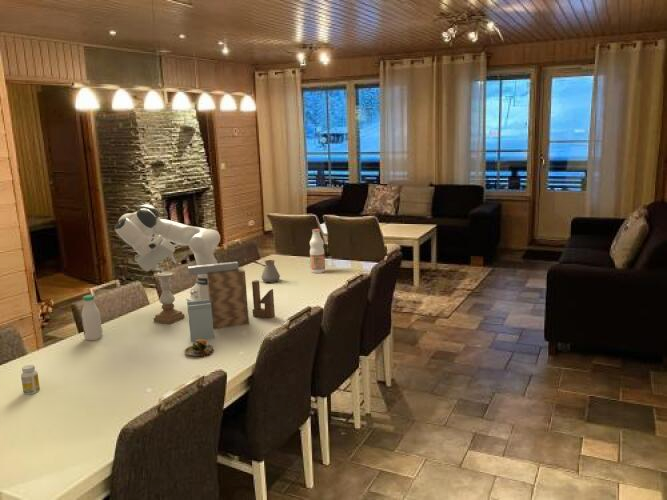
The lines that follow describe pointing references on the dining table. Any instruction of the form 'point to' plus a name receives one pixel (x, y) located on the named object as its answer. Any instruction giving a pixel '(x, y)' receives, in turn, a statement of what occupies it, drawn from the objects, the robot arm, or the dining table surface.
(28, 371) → the supplement bottle
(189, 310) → the block
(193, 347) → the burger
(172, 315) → the candle holder
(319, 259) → the fruit juice
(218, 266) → the bar
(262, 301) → the wooden block
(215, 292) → the brown tall rectangular box
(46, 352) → the dining table surface
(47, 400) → the dining table surface
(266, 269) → the coffee pot
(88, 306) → the milk bottle
